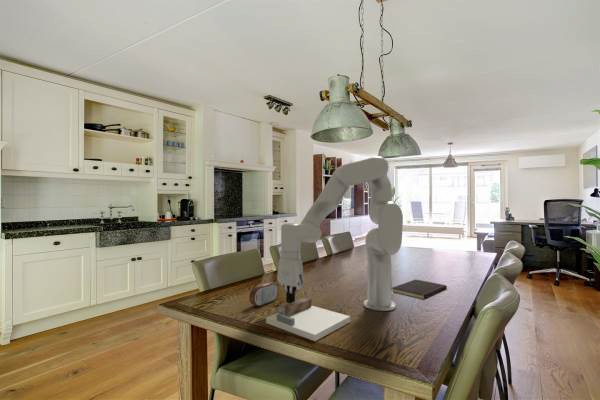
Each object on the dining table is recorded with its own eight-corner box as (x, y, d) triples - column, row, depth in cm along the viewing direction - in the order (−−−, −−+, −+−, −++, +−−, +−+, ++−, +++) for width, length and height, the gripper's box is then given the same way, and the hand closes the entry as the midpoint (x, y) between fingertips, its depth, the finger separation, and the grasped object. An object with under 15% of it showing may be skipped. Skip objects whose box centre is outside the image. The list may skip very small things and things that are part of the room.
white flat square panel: (303, 308, 126) (303, 298, 126) (350, 322, 111) (350, 310, 111) (266, 323, 111) (266, 311, 111) (315, 341, 96) (315, 328, 96)
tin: (274, 298, 139) (274, 279, 139) (280, 299, 137) (279, 280, 137) (248, 307, 127) (248, 286, 127) (254, 309, 125) (254, 288, 125)
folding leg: (282, 318, 109) (282, 308, 109) (276, 316, 111) (276, 306, 111) (311, 306, 121) (311, 297, 121) (305, 305, 123) (305, 295, 123)
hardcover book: (391, 292, 148) (391, 287, 148) (415, 283, 164) (415, 279, 164) (424, 300, 136) (424, 295, 136) (446, 290, 152) (446, 285, 152)
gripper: (270, 254, 124) (270, 300, 124) (298, 258, 114) (298, 309, 114) (283, 251, 130) (283, 296, 130) (311, 256, 120) (311, 304, 120)
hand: (290, 302), depth 122 cm, fingers closed
